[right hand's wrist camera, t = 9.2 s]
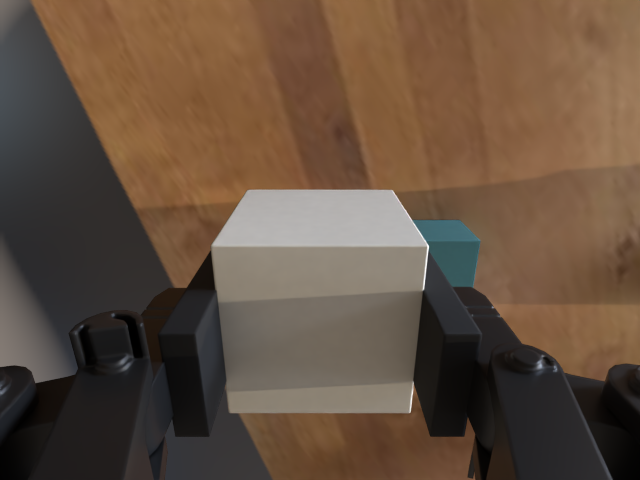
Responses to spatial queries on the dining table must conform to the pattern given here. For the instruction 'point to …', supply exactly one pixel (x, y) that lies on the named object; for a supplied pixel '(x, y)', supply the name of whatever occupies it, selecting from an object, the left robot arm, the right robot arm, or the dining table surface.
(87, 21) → the dining table surface
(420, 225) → the teal block
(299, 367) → the cream block
